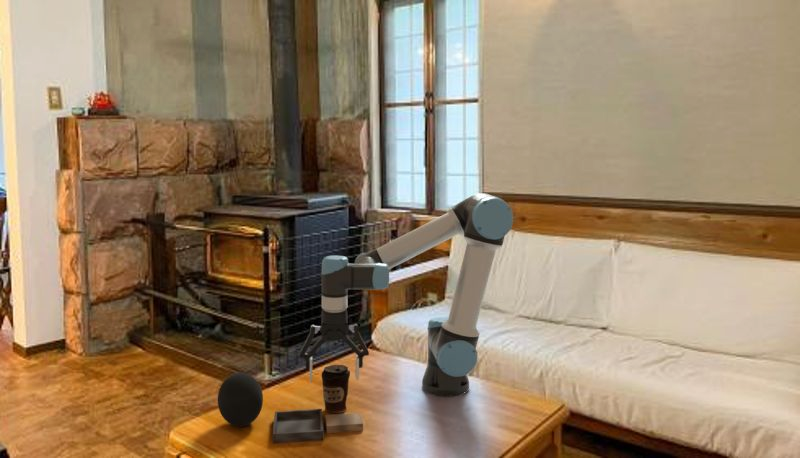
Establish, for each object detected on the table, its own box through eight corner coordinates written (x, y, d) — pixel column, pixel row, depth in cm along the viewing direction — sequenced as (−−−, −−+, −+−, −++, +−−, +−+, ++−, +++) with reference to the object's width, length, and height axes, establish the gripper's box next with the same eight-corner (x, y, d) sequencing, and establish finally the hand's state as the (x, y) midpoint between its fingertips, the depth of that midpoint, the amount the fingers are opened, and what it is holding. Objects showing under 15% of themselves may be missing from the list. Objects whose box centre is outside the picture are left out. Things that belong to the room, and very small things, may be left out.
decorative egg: (247, 437, 176) (246, 384, 174) (209, 430, 181) (207, 378, 178) (271, 418, 188) (270, 369, 186) (235, 412, 192) (233, 363, 190)
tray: (321, 416, 189) (321, 408, 189) (323, 439, 175) (323, 431, 175) (275, 419, 187) (274, 411, 187) (272, 443, 173) (272, 434, 173)
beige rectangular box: (360, 421, 188) (360, 412, 187) (363, 432, 181) (362, 423, 180) (325, 423, 186) (325, 415, 186) (326, 434, 179) (326, 426, 179)
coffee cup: (345, 417, 189) (344, 374, 187) (317, 414, 191) (317, 372, 189) (353, 405, 198) (353, 364, 196) (327, 402, 199) (326, 362, 197)
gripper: (375, 304, 195) (374, 372, 198) (291, 306, 191) (291, 375, 194) (378, 311, 188) (377, 381, 191) (290, 313, 184) (291, 385, 187)
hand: (334, 378), depth 193 cm, fingers open, 13 cm apart
